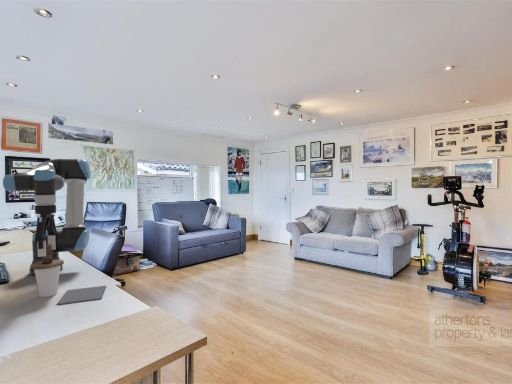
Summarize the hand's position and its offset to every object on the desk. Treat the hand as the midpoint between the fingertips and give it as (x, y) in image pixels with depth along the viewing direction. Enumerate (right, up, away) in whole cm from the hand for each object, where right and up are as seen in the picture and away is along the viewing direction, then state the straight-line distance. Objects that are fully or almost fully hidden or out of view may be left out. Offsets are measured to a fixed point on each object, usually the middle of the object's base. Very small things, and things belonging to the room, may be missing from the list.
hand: (47, 252), depth 127 cm
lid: (0, -6, 0) cm, 6 cm away
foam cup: (0, -19, +1) cm, 19 cm away
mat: (+17, -18, -1) cm, 25 cm away
